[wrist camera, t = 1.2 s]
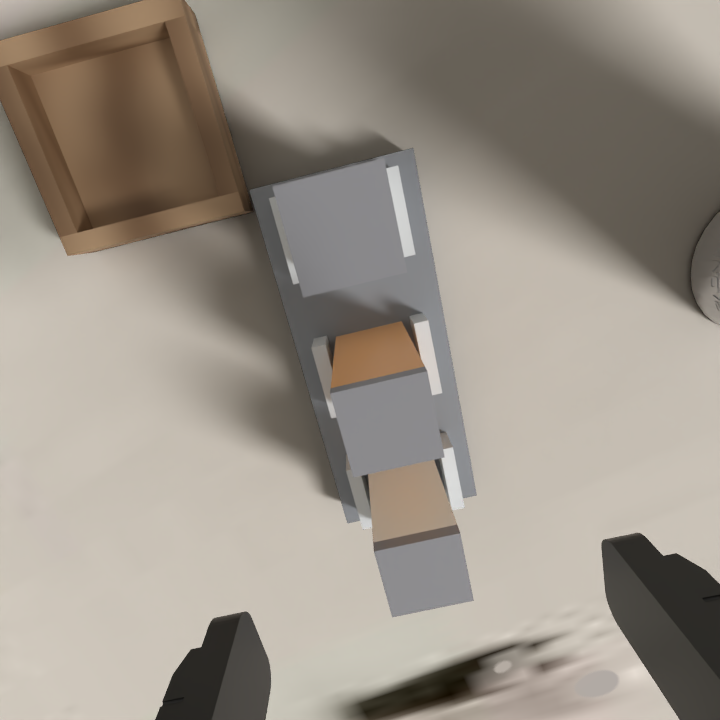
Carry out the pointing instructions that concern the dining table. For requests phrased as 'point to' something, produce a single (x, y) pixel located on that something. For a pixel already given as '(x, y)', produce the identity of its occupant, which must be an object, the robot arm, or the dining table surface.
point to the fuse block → (365, 311)
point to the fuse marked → (383, 401)
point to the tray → (122, 125)
